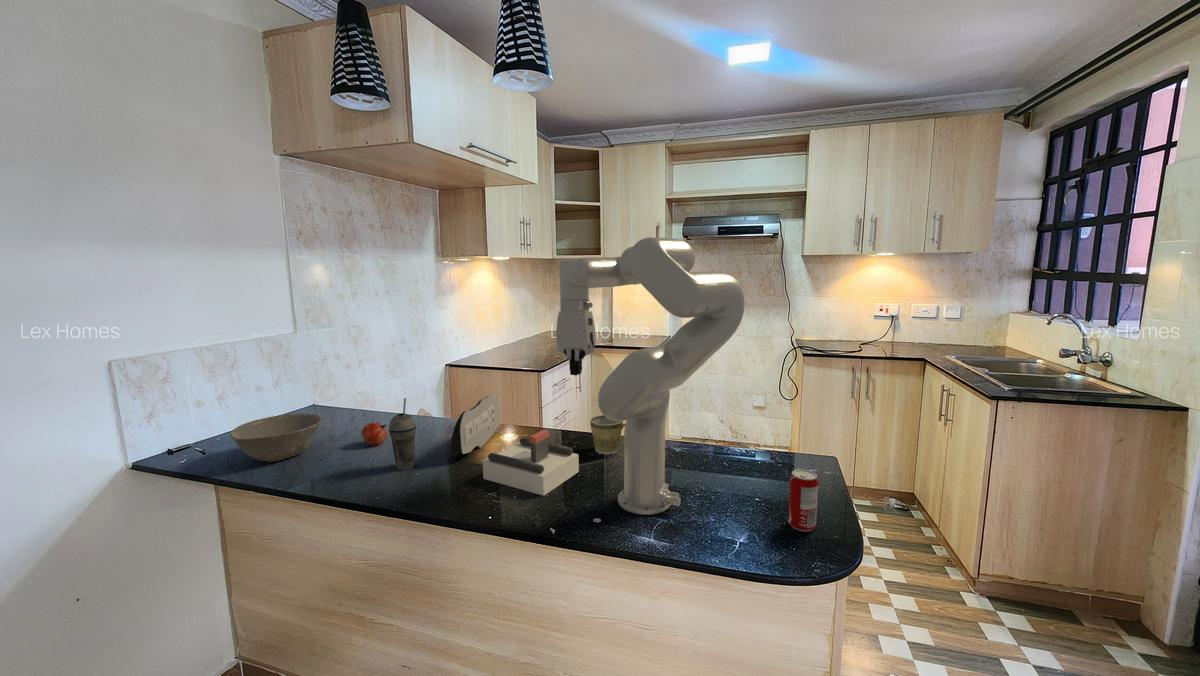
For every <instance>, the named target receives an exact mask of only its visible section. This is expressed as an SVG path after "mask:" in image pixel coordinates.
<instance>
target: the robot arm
mask: <svg viewBox="0 0 1200 676" xmlns="http://www.w3.org/2000/svg"><path fill="white" fill-rule="evenodd" d="M695 255H696V254H695V251H694V250H693V248H692V247H691V245H690V244H689V243H687V241H684V240H682V239H679V238H673V237H645V238H642V239H640V240H638V241H637V242H636V243H634V245H632V246H629V247H627V248H626V249H625V250H624V251H623V252H622V253H621V255H620V256H615V257H607V256H606V257H604V256H602V257H599V256H598V257H589V256H588V257H587V256H586V257H579V258H566V259H562V260H561V261H560V263H559V300H560V301H559V302H560V303H559V305H560V311H558V314H557V320H556V321H557V322H556V335H555V336H556V345H557V351H559V352H560V353H563V354H564V355H565V356H566V358H567V360H568V361H569V374H570V376H579V375H581V374H582V371H583V360H584V359H585V357H586V356H588V355H592V354H594V352H595V351H594V348H595V347H596V343H597V342H596V340H597V338H596V337H597V336H596V327H595V320H594V315H593V312H592V311H590V308H592V307H593V305H594V304H593V302H590V297H589V293H590V292H589V290H590V289H593V288H594V289H596V288H614V287H623V286H630V285H631V286H633V285H635V286H637V285H641V286H643V288H644V289H645V290H646V291H647V292H648V293H649V294H650V295H651V296H652V297H653V298H654V299H655V300H656V301H657V303H658V304H660V305H661V307H662V308H663V309H664V310H665V311H667V312H668V313H669V314H672V316H676V317H677V318H684V319H689V318H690V320H688V321H687V322H686V323H684V324H683V325H682V326H681V327H680V328H679V329H678V330H677V331H676V333H674V334H673V335H672V336H671V337H670V338H669V339H668V340H667V341H665V342H664V343H662V344H660V345H655V346H650V347H645V348H640V349H637V350H635V351H633V352H631V353H630V354H628V355H627V356H626V357H624V359H622V361H621V362H620V363H618V365H617V366H616V368H614V369H613V371H612V372H611V373H610V375H608V376H607V378H606V379H605V380H604V381H603V383H602V384H601V386H600V388H599V391H598V393H597V394H598V395H597V404H598V408H599V410H600V413H601V415H604V416H605V417H606V418H608V419H610V420H612V421H623V422H624V421H625V423H626V424H625V423H624V424H625V426H624V430H623V431H624V432H623V436H624V438H623V459H624V460H623V467H624V468H623V470H624V471H623V475H624V476H623V477H624V478H623V480H624V481H623V482H624V483H623V484H624V485H623V487H624V488H623V490H621V491H620V492H619V493H618V495H617V504H618V505H619V506H620V508H622V509H623V510H624V511H626V512H629V513H630V514H631V513H632V514H635V515H641V516H643V515H645V516H646V515H647V516H648V515H649V516H650V515H657V514H660V513H663V512H665V511H667V510H668V509H669V508H670V507H671V505H672V506H675V507H680V505H681V502H682V500H681V499H682V498H681V497H680V493H678V492H674V491H671V490H670V489H669V483H666V482H665V476H666V475H665V474H666V473H665V471H666V470H665V467H666V466H665V464H666V463H665V462H666V460H665V459H666V444H665V443H666V425H667V424H666V423H667V414H668V410H669V405H670V400H671V399H670V397H671V393H670V392H671V391H670V390H672V389H673V390H674V389H675V388H678V387H680V386H682V385H683V384H684V383H685V382H686V381H688V379H689V378H691V376H692V375H694V374H695V373H696V372H697V371H698V370H699V369H700V368H701V367H702V366H703V365H704V364H706V362H707V361H708V360H709V359H710V358H711V357H712V356H714V354H715V353H717V352H718V351H719V350H720V349H721V348H722V347H723V346H724V345H725V344H726V343H727V342H728V341H729V340H730V339H731V338H732V336H733V335H734V334H735V333H736V331H737V329H738V328H739V326H740V325H741V321H742V320H743V317H744V313H745V306H746V305H745V295H744V291H743V288H742V286H741V284H740V282H739V280H738V279H736V278H735V277H733V276H732V275H729V274H727V273H724V272H719V271H694V272H693V271H692V269H693V268H694V265H695V262H696V261H695V260H696V256H695ZM691 318H692V319H691Z"/></svg>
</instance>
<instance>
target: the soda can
mask: <svg viewBox="0 0 1200 676" xmlns="http://www.w3.org/2000/svg"><path fill="white" fill-rule="evenodd" d="M788 493H789V496H788V499H789V500H788V513H787V515H788V516H787V517H788V518H787V522H788V524H789V525H790V527H792V529H794V530H797V531H799V532H800V531H801V532H805V533H806V532H812V531H813V530H815V528H816V526H817V513H818V512H817V511H818V497H819V479H818V474H816V472H814V471H812V470H809V469H805V468H804V469H802V468H801V469H800V468H799V469H794V470H792V471H791V475H790V479H789V492H788Z"/></svg>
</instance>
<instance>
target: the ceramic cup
mask: <svg viewBox="0 0 1200 676" xmlns="http://www.w3.org/2000/svg"><path fill="white" fill-rule="evenodd" d="M589 424H590V428H591V434H592V438H593V439H592V440H593V444H594V449H595V452H596V453H597V452H598V454H599V455H601V454H604V455H603V456H610V455H609V454H612V455H615V454H614V453H616V452H617V453H618V451H619V447H620V446H619V445H620V442H621V441H622V439H624V435H623V436H622V435H621V434H622V430H623V429H624V428H625V424H626V422H625V423H624V421H612V420H610V419H608V418H606V417H605V416H604V415H603V414H599V415H595V416H592V417H591V418H590V419H589ZM617 453H616V454H617Z"/></svg>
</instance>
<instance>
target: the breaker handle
mask: <svg viewBox="0 0 1200 676" xmlns="http://www.w3.org/2000/svg"><path fill="white" fill-rule="evenodd" d="M549 438H550V430H546V429H542V430H539V431H538V432H536V433H533V434H532V435H530V436H529V437H528V439H529V443H531V461H535V462H537V461H538V460H540V459H542V458H544V457H545V456H547V455H549V443H550V442H549Z"/></svg>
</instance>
